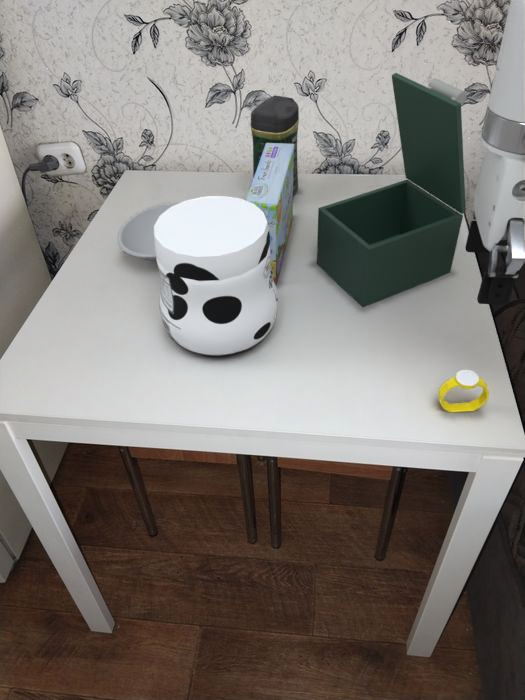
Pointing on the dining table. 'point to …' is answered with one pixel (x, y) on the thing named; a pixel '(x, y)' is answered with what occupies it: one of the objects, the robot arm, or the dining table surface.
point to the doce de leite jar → (215, 274)
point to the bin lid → (432, 137)
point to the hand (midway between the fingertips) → (485, 275)
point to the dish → (141, 232)
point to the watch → (465, 381)
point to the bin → (386, 241)
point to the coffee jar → (275, 128)
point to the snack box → (275, 197)
